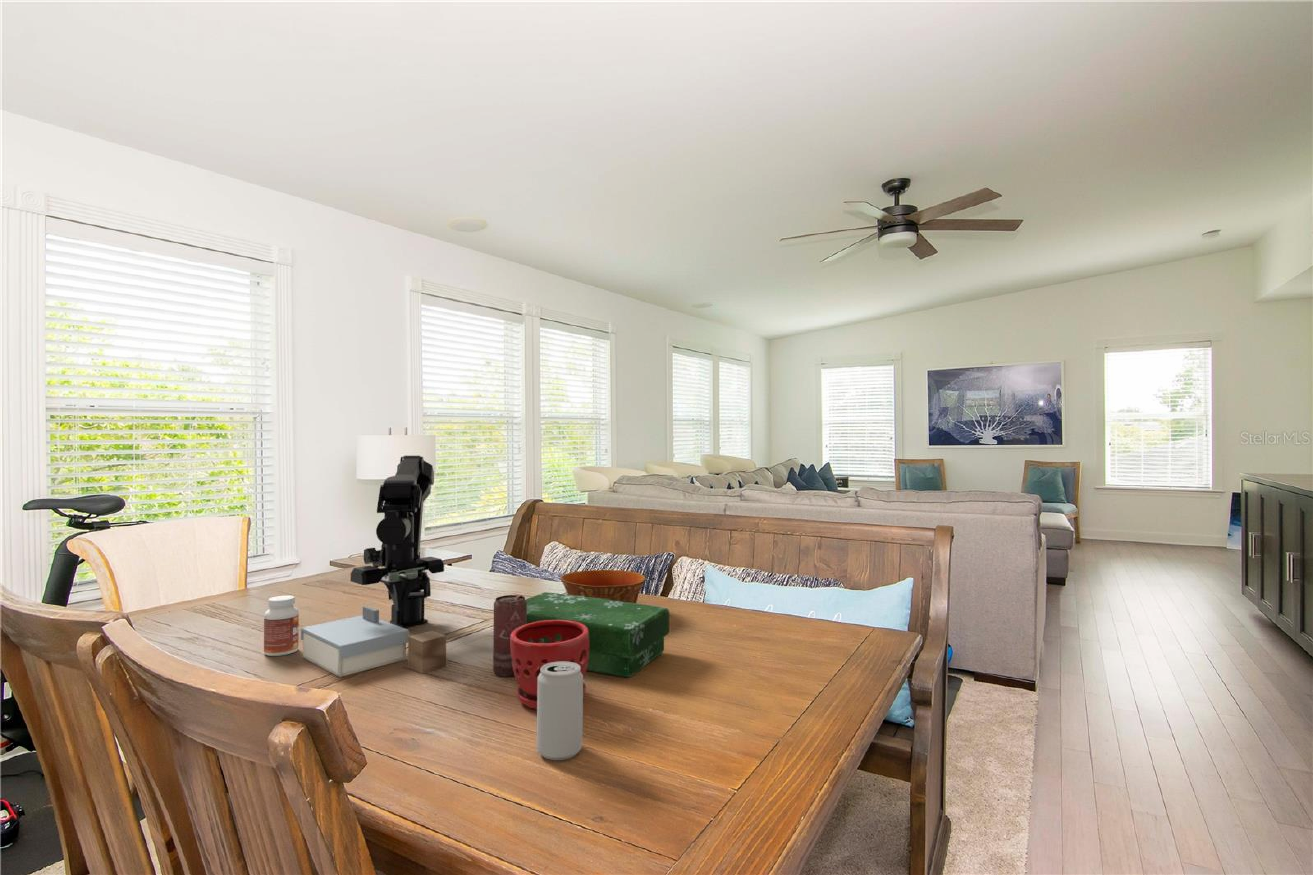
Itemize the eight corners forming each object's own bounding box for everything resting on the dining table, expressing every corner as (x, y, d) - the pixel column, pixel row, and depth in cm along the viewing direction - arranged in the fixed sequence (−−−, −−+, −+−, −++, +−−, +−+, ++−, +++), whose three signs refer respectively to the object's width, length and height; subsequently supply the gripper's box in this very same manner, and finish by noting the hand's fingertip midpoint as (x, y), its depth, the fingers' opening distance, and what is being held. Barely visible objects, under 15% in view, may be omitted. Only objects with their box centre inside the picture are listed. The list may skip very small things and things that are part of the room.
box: (671, 654, 136) (671, 605, 136) (630, 683, 120) (631, 628, 120) (544, 633, 150) (545, 589, 150) (492, 657, 133) (492, 608, 133)
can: (532, 668, 126) (533, 595, 126) (515, 679, 120) (515, 603, 120) (505, 664, 128) (505, 592, 128) (486, 675, 122) (487, 600, 122)
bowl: (598, 601, 178) (598, 564, 178) (662, 614, 166) (662, 574, 166) (542, 618, 161) (542, 577, 161) (609, 634, 149) (609, 590, 149)
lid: (366, 625, 142) (366, 602, 142) (408, 642, 130) (408, 617, 130) (300, 639, 131) (301, 615, 131) (340, 659, 120) (340, 632, 120)
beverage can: (538, 742, 96) (539, 660, 96) (583, 740, 96) (583, 659, 96) (534, 764, 90) (535, 676, 90) (581, 762, 90) (582, 674, 90)
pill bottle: (299, 653, 134) (300, 599, 134) (264, 659, 130) (265, 603, 130) (296, 645, 139) (297, 593, 139) (262, 650, 135) (263, 596, 135)
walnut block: (431, 661, 130) (431, 630, 130) (445, 666, 127) (446, 635, 127) (408, 667, 126) (408, 636, 126) (422, 673, 123) (422, 641, 123)
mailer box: (367, 642, 141) (367, 619, 141) (405, 659, 131) (405, 634, 131) (303, 657, 131) (303, 632, 131) (339, 677, 121) (339, 650, 121)
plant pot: (520, 685, 118) (520, 618, 118) (593, 686, 117) (593, 619, 117) (500, 716, 105) (501, 641, 105) (582, 718, 104) (583, 642, 104)
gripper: (419, 529, 154) (418, 596, 154) (338, 538, 140) (338, 612, 140) (445, 534, 147) (445, 604, 147) (363, 544, 133) (363, 621, 133)
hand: (398, 610), depth 142 cm, fingers closed
